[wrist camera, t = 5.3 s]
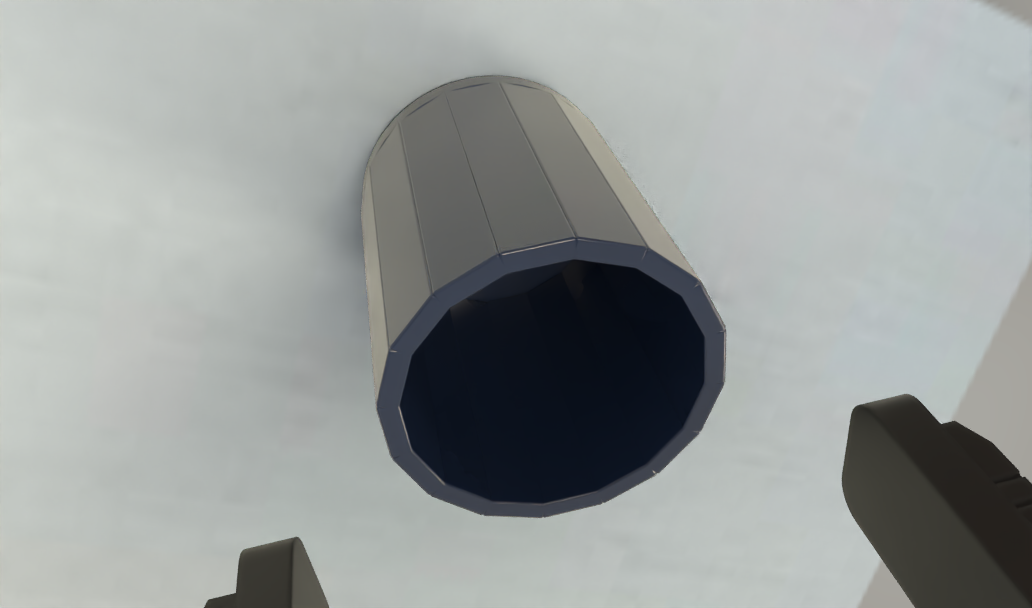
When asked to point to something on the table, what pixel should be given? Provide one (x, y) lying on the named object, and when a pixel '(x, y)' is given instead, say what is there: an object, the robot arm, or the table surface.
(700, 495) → the table surface
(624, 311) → the pot
